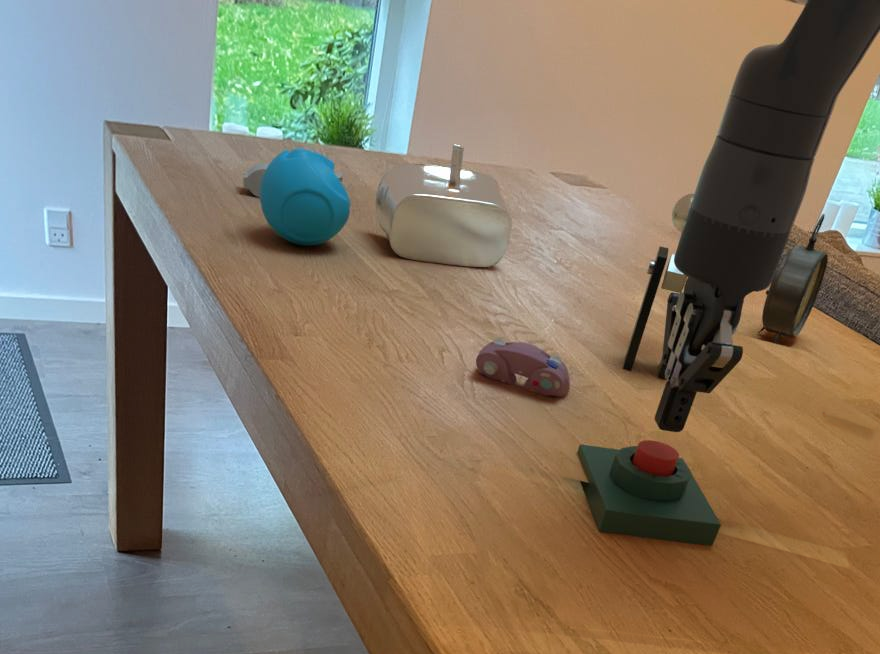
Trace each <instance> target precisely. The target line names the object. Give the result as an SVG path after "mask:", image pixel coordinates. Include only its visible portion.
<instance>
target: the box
mask: <svg viewBox="0 0 880 654" xmlns="http://www.w3.org/2000/svg"><path fill="white" fill-rule="evenodd" d="M637 446H638V445H631V446H625V447H621V448H620V449H617V448H611V447H610V448H609V447H603V446H596V445H587V444H582V443H581V444H579V446H578V449H577V455H578V458H579V460H580V463H581V466H582V469H583V470H584V473H585V476H586V478H587V481H588V482H587V481H583V480H579V483H580V485H581V488H582V491H583V494H584V496H585V499H586V501H587V504H588V506H589V509H590V512H591V514H592V517H593V519H594V522H595V525H596V527H597V530H598V532H599V533H604V534H613V535H619V536H620V535H621V536H629V537H636V538H643V539H644V538H645V539H651V540H652V539H653V540H660V541H667V542H669V541H670V542H676V543H683V544H691V545H701V546H709V547H712V546H713V545H714V542H715V540H716V538H717V535H718V533H719V531H720V528H721V526H722V524H721V522H720V521H719V519H718V517H717V515H716V514H715V512H714V510H713V508H712V506H711V505H710V503H709V501H708V500H707V498H706V496H705V494H704V492H703V491H702V489H701V487H700V486H699V483H698V481H696V478H695V477H694V475H693V473H692V471H691V469H690V467H689V465H688V464H687V463H686V462H685V460H684V458H682V457H679V458H678V461H677V464H676V466H675V469H674V472H673V474H672V475H671V476H658V475H653V474H650V473H648V472H645V471H642V470H640V469H639V468H637V467H636V466H634V465H633V464H632V461H633V458H634V455H635V452H636V449H637Z"/></svg>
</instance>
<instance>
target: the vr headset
mask: <svg viewBox="0 0 880 654" xmlns="http://www.w3.org/2000/svg"><path fill="white" fill-rule="evenodd" d="M464 151H465V147H464V146H462V145H459V144H455V143H453V144H452V151H451V159H450V167H447V166H440V165H436V164H435V165H434V164H427V163H405V164H400V165H396V166H393V167H391V168H390V169H389V170H387V171H386V173H385V174H384V175H383V176H382V178H381V180H380V182H379V185H378V187H377V191H376V196H375V215H376V220H377V222H378V225H379V227H380V229H381V230H382V231H383V233H384V234H385V235H386V237H387V240H388V242H389V245H390V247H391V250H392V251H393V252H394V253H395V254H396V255H397V256H399V257H401V258H404V259H407V260H412V261H419V262H426V263H427V262H428V263H434V264H442V265H450V266H460V267H469V268H471V267H472V268H488V267H493V266H495V265H497V264H498V263H500V261H502V259H503V258H504V256H505V255H506V252H507V249H508V246H509V243H510V238H511V234H512V233H511V232H512V227H513V219H512V215H511V213H510V210H509V209H508V206H507V204H506V202H505V200H504V197H503V194H502V189H501V186H500V184H499V182H498V181H497V180H496V178H494V177H492V176H491V175H488V174H486V173H484V172H479V171H475V170H469V169H463V168H462V167H463V159H464Z"/></svg>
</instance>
